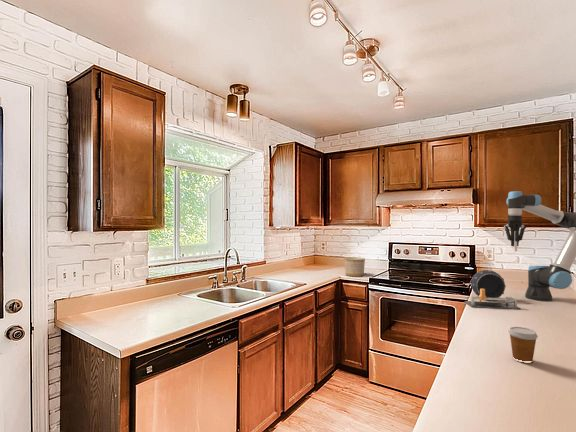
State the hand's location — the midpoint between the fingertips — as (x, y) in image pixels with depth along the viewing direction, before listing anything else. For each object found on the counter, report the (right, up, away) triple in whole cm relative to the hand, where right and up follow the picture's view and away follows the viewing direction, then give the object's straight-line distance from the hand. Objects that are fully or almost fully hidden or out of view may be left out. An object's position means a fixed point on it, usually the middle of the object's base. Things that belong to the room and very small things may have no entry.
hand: (514, 251), depth 217 cm
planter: (-84, -34, +101) cm, 136 cm away
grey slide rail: (-18, -34, -7) cm, 40 cm away
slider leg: (-25, -33, -6) cm, 42 cm away
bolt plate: (-18, -34, -5) cm, 39 cm away
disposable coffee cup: (-54, -35, -85) cm, 107 cm away
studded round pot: (-10, -35, +12) cm, 38 cm away
